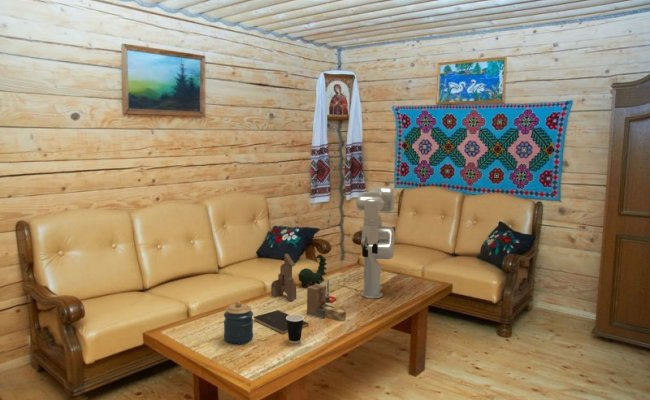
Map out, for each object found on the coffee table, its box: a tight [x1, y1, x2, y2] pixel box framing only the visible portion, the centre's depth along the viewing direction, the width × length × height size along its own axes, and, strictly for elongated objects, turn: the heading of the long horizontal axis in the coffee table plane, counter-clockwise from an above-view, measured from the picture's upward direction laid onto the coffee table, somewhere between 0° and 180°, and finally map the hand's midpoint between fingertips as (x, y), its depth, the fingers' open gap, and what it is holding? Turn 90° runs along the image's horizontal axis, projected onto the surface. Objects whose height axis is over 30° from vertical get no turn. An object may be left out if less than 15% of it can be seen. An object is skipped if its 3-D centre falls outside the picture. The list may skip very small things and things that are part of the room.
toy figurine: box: [297, 253, 327, 288], centre depth 307 cm, size 9×19×25 cm
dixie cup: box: [286, 314, 305, 344], centre depth 222 cm, size 8×8×11 cm
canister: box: [223, 300, 254, 346], centre depth 223 cm, size 13×13×18 cm
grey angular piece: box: [306, 283, 335, 319], centre depth 257 cm, size 8×11×14 cm
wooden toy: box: [270, 253, 297, 302], centre depth 281 cm, size 16×7×25 cm, turn 52°
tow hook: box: [326, 278, 337, 303], centre depth 280 cm, size 8×13×9 cm
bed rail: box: [321, 303, 347, 322], centre depth 253 cm, size 13×4×5 cm, turn 54°
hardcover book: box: [253, 309, 309, 335], centre depth 244 cm, size 16×23×2 cm
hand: (370, 255), depth 259 cm, fingers open, 9 cm apart
